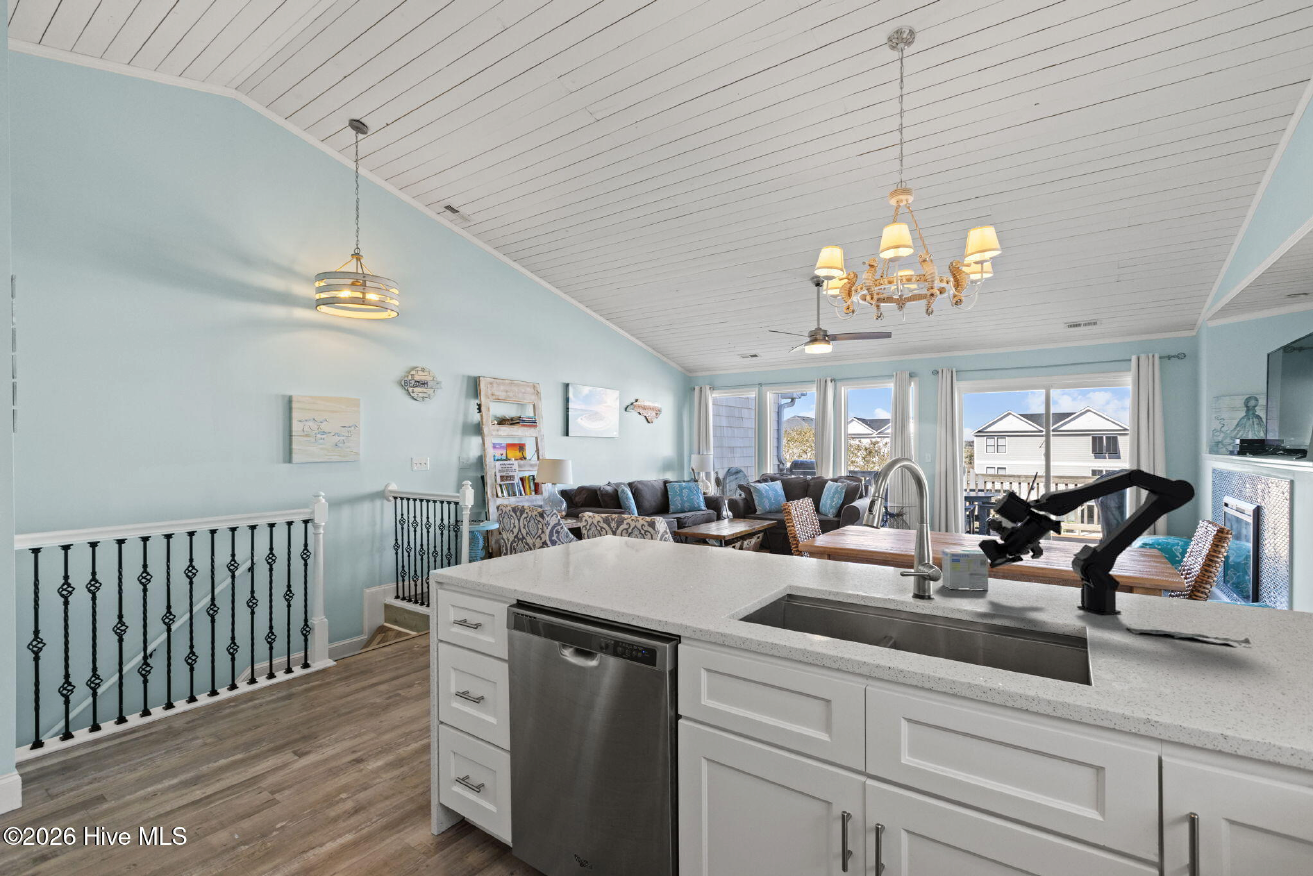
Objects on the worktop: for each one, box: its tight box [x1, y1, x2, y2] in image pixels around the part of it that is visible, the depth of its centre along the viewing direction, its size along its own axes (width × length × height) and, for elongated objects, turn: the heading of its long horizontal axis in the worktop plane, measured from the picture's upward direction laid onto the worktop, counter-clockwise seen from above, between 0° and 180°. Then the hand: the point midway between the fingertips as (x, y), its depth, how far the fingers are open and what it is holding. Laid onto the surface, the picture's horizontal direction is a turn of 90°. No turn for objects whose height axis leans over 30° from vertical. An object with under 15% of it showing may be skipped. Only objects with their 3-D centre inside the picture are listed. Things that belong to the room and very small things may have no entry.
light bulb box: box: [941, 548, 989, 591], centre depth 172 cm, size 11×7×11 cm, turn 84°
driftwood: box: [1126, 627, 1252, 649], centre depth 128 cm, size 21×7×2 cm, turn 58°
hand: (991, 567), depth 164 cm, fingers closed
